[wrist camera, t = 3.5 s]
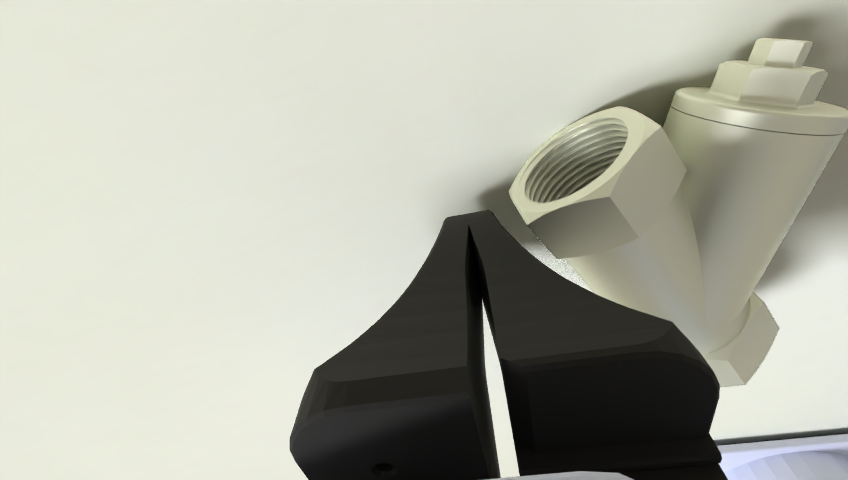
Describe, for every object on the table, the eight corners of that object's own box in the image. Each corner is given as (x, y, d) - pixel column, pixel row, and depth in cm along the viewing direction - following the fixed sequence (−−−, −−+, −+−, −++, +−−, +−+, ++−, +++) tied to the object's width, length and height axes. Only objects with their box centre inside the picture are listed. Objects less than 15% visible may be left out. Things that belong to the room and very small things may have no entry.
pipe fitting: (721, -5, 10) (498, 174, 12) (889, -11, 6) (535, 242, 8) (814, 212, 13) (625, 323, 15) (959, 285, 9) (689, 415, 12)
